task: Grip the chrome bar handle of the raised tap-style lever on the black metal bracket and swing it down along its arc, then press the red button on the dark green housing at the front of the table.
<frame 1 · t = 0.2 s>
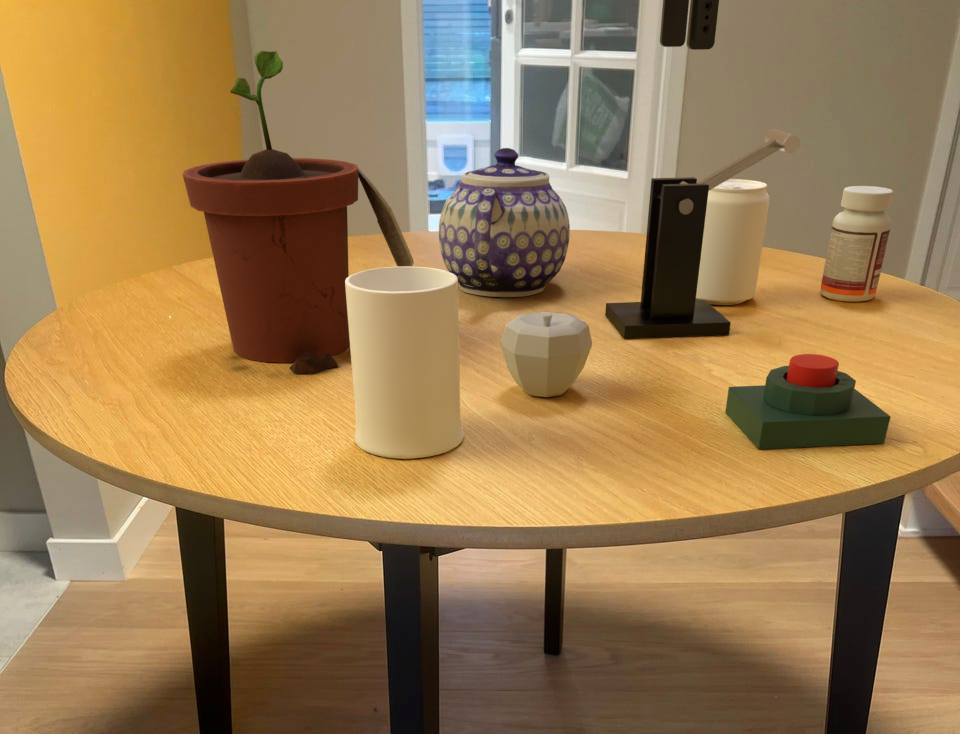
hand: (685, 47, 83), 25 cm above the table, tool pointing down, fingers open, 8 cm apart
button: (812, 372, 73), point 4 cm above the table, slide at 0.1 cm
mug: (412, 432, 75), on the table
teapot: (503, 289, 113), on the table
lever: (726, 173, 92), point 14 cm above the table, hinge at 28.0°
bracket: (665, 324, 100), on the table
pill bottle: (846, 297, 109), on the table
button box: (801, 427, 75), on the table
apple: (544, 393, 83), on the table
potted plant: (322, 347, 94), on the table
beverage can: (718, 299, 109), on the table
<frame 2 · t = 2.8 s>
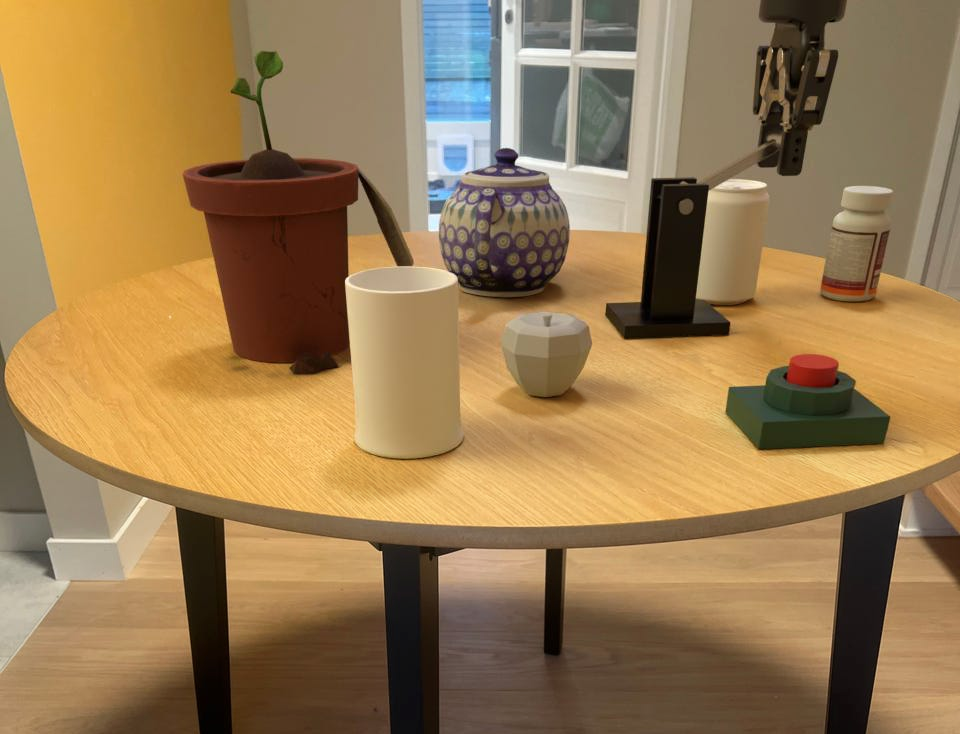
hand: (777, 170, 92), 15 cm above the table, tool pointing down, fingers closed on lever, 5 cm apart
lever: (726, 173, 92), point 14 cm above the table, hinge at 28.0°, touching gripper
everything else where it was.
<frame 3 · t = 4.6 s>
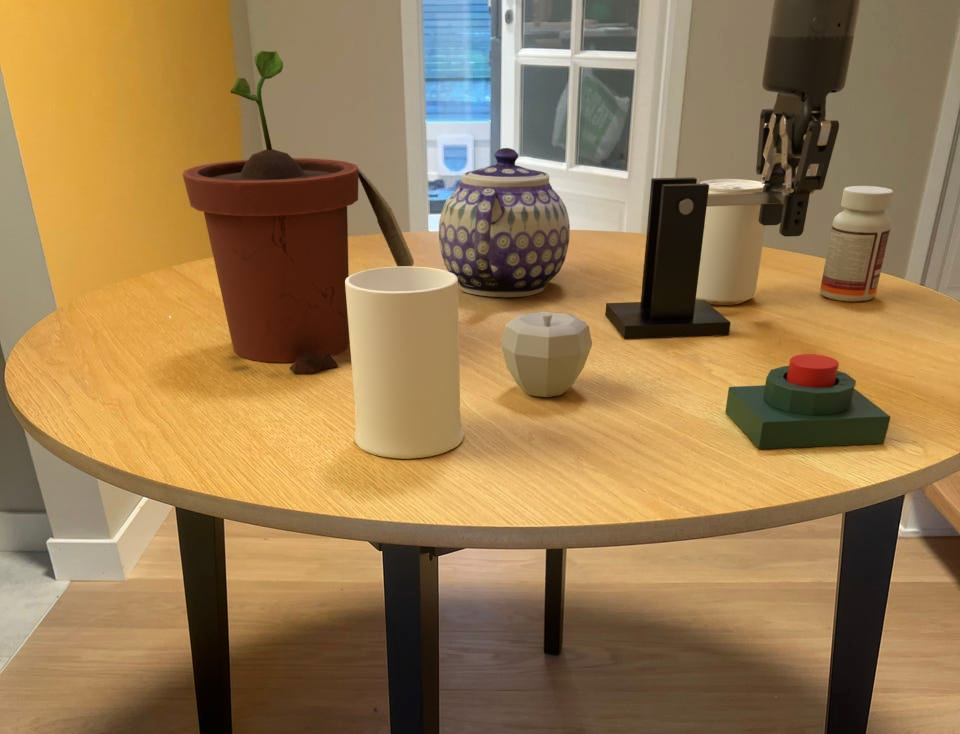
hand: (779, 229, 96), 9 cm above the table, tool pointing down, fingers closed on lever, 5 cm apart
lever: (728, 199, 93), point 12 cm above the table, hinge at 0.9°, touching gripper
everything else where it was.
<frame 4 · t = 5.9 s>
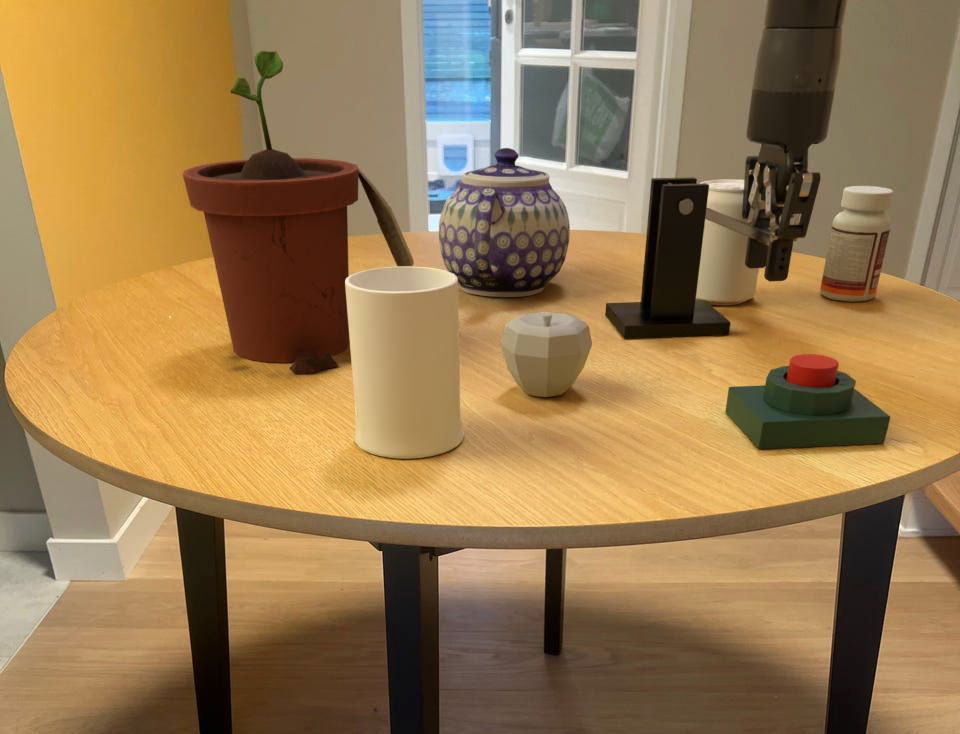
hand: (764, 272, 98), 5 cm above the table, tool pointing down, fingers closed on lever, 5 cm apart
lever: (723, 220, 94), point 10 cm above the table, hinge at -20.4°, touching gripper
beverage can: (717, 300, 109), on the table, touching hand
everything else where it was.
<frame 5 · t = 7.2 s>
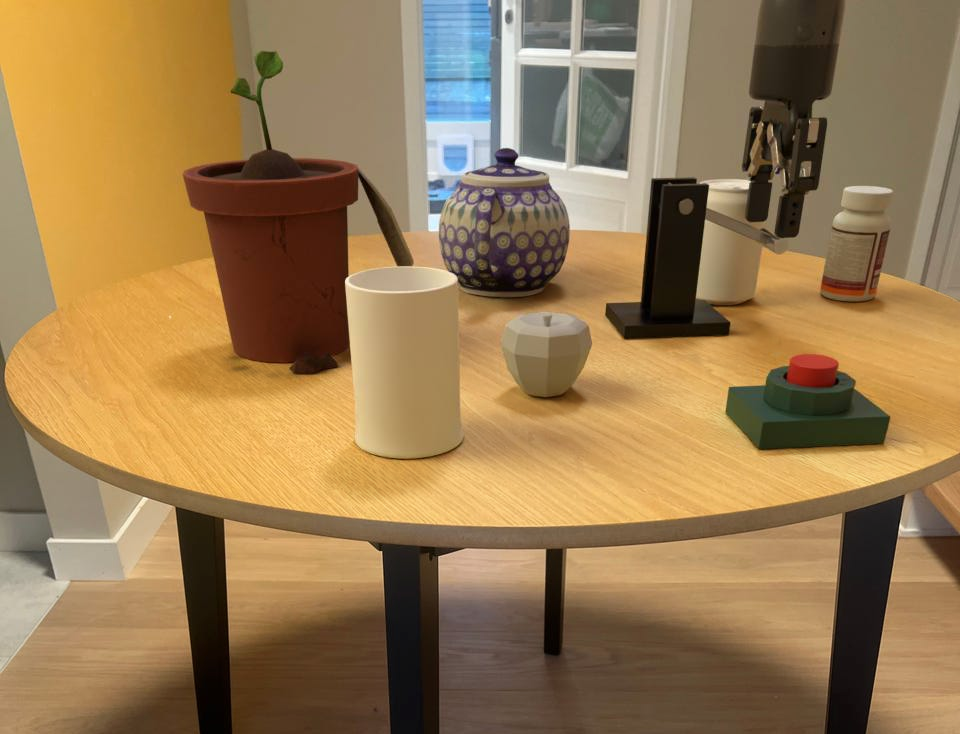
hand: (770, 228, 95), 9 cm above the table, tool pointing down, fingers open, 8 cm apart
lever: (722, 220, 94), point 10 cm above the table, hinge at -20.9°
beverage can: (717, 299, 109), on the table
everything else where it was.
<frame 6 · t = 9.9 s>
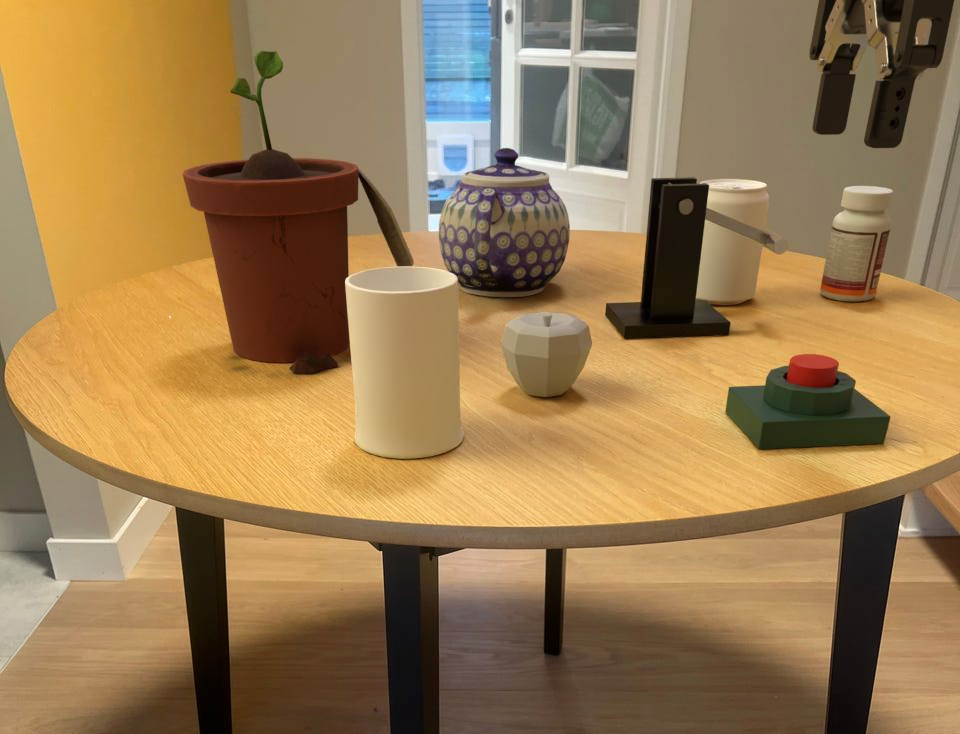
hand: (852, 140, 64), 20 cm above the table, tool pointing down, fingers open, 8 cm apart
nothing on the table moved.
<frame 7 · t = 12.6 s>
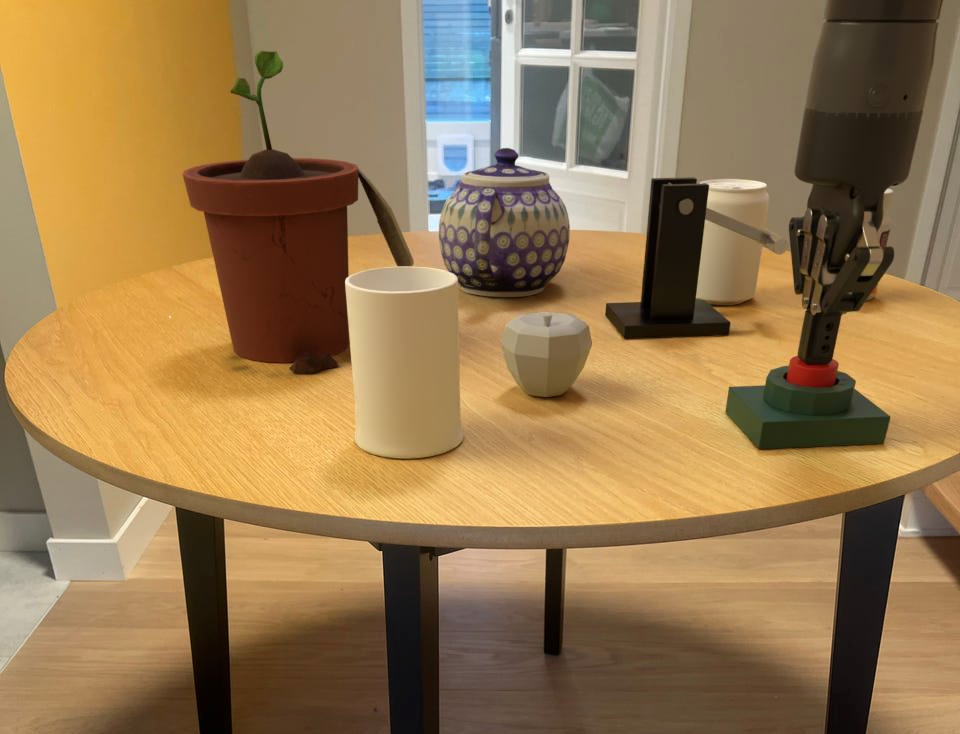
hand: (813, 361, 72), 5 cm above the table, tool pointing down, fingers closed
button: (812, 372, 73), point 4 cm above the table, slide at 0.0 cm, touching gripper
everything else where it was.
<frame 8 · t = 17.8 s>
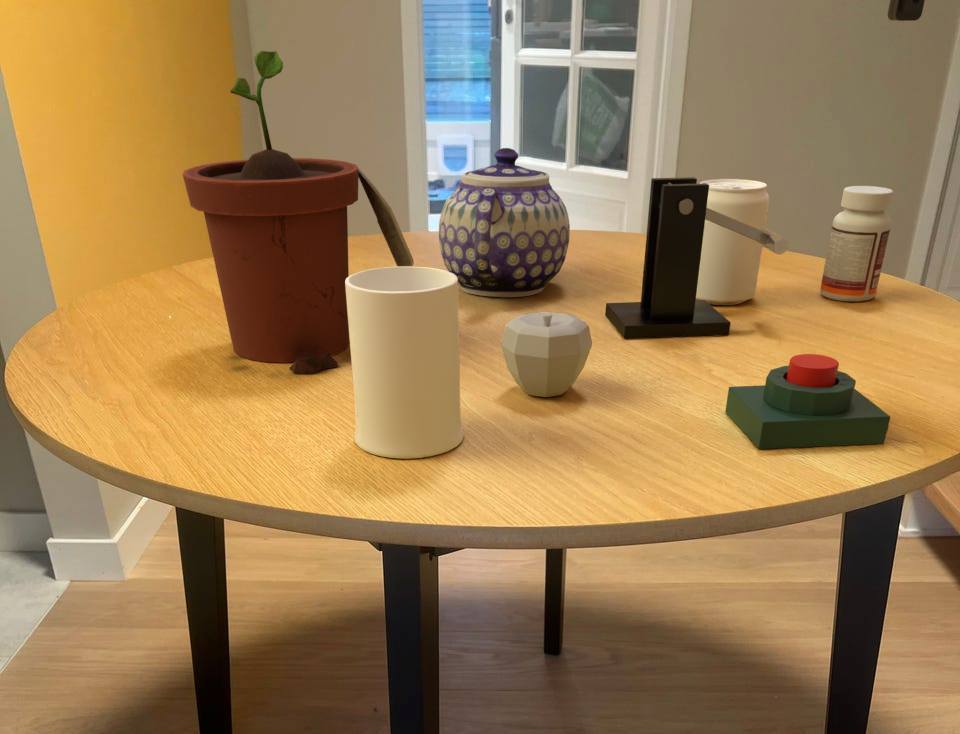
hand: (903, 20, 77), 27 cm above the table, tool pointing down, fingers closed
button: (812, 372, 73), point 4 cm above the table, slide at 0.1 cm
everything else where it was.
at the end: lever at -21° (first picture: +28°); button pushed in 1.1 cm at the most during the clip, back to where it started at the end; button slide at 0.1 cm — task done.
